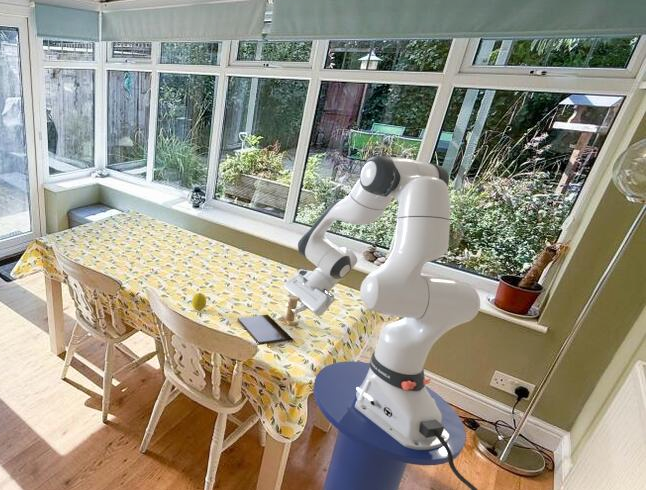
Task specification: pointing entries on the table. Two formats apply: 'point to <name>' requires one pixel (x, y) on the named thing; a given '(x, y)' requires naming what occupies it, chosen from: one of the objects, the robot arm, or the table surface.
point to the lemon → (199, 301)
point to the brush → (290, 315)
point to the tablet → (264, 329)
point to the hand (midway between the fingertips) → (290, 309)
